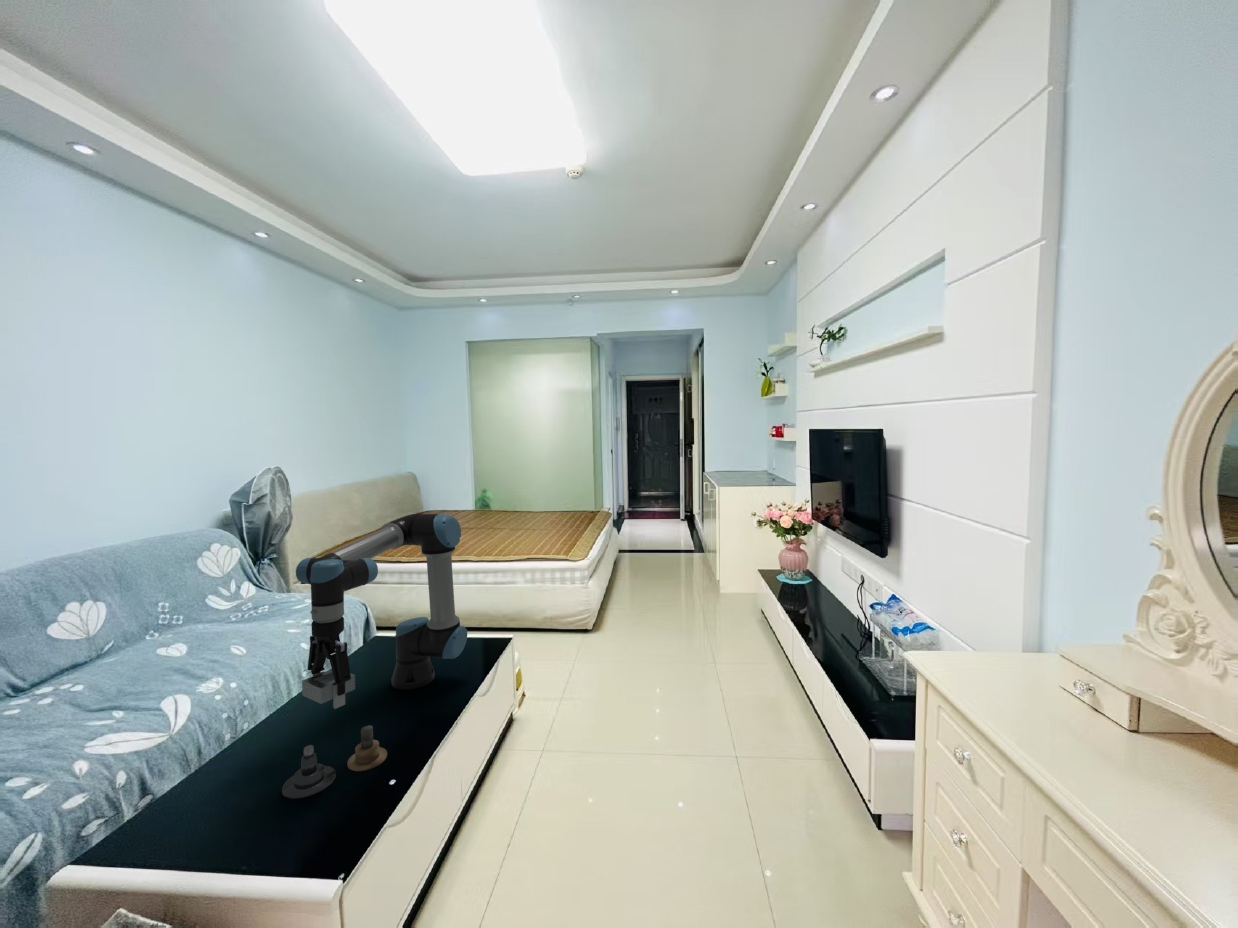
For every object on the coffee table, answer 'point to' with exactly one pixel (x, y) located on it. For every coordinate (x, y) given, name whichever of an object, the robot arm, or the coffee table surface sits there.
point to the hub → (308, 777)
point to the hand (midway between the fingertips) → (329, 701)
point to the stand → (367, 752)
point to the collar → (323, 686)
